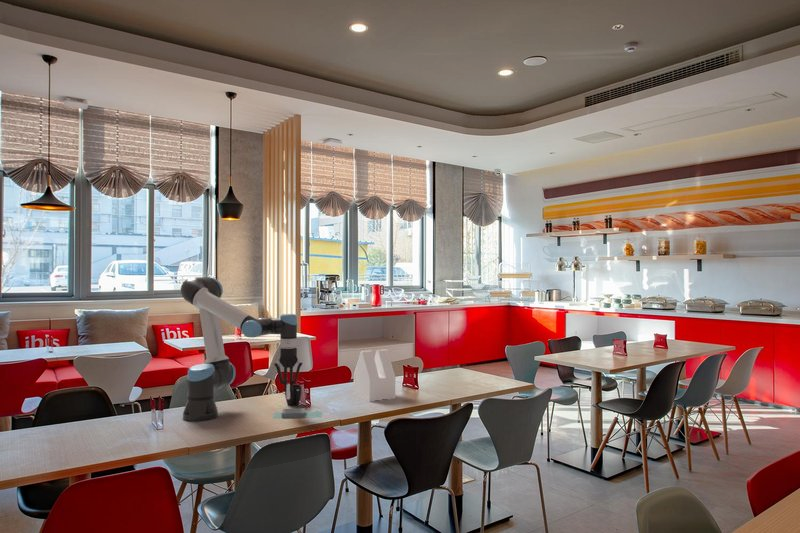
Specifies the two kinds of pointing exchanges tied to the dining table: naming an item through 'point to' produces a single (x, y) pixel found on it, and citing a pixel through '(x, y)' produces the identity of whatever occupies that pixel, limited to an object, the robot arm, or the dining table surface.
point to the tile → (293, 412)
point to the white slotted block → (374, 376)
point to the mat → (307, 414)
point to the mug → (294, 396)
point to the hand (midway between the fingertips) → (288, 398)
